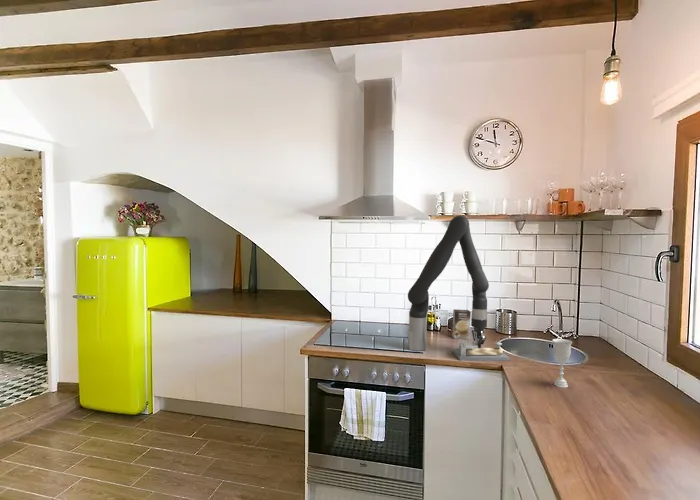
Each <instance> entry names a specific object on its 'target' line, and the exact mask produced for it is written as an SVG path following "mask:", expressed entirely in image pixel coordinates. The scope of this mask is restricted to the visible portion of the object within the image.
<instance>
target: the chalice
mask: <svg viewBox="0 0 700 500" xmlns="http://www.w3.org/2000/svg"><path fill="white" fill-rule="evenodd" d="M552 342H553V356H554V358H555V360H556V363H558V364H559V377H558V378H556V379H555V381H554V384H553V385H554V386H556V387H558V388H568V387H569V385H568V383H567V380H566V379H565V378H564V377H563V376H564V374H565V373H564V372H563V371H564V365H565V364H567V362H568V360H569V359H570V357H571V352H572V351H571V349H572V348H571V347H572V344H573V341H572V340H569V339H563V338H553V339H552Z"/></svg>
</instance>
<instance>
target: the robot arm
mask: <svg viewBox="0 0 700 500" xmlns="http://www.w3.org/2000/svg"><path fill="white" fill-rule="evenodd" d="M458 243H459V244H460V248H461V252H462V253H461V254H462V257H463V261H464V264H465V267H466V270H467V272H468V274H469V275H470V278H471V280H472V283H471V292H472V302H471V303H472V305H471V306H472V307H471V317H470V327H473V329H471V334H472V335H471V336H472V338H473V342H474V343H475V344H476V345H478V348H482V345H484V344H485V341H486V339H487V336H485V330H484V329H486V328H487V327H488V298H487V291H489V287H490V286H489V285H490V284H489V281H488V279H487V276H486V274H485V271H484V270H483V266H482V264H481V261H480V260H481V259H480V257H479V255H478V252H477V250H476V247H475V245H474V242H473V238H472V234H471V228H470V221H469V219H468V218H467V217H466V216H464V215H456V216H454V217H453V218H451V219H450V221H449V224H448V227H447V229H446V231H445V233H444V235H443V236H442V238H441V240H440V241H439V243H438V244H437V245H436V247H435V248H434V249H433V251H432V253H431V254H430V256H429V257H428V259H427V261H426V263H425V265H424V266H423V268H422V270H421V272H420V275H419V276H418V278H417V279H416V281H415V282H414V283H413V285H412V286H411V287H410V288H409V290H408V292H407V299H408V302H409V303H411V307H410V309H409V311H408V312H409V313H408V315H409V316H408V318H409V319H408V331H407V347H408V349H409V350H410V351H414V352H415V351H416V352H423V351H426V350H427V341H428V340H427V327H428V325H427V324H428V312H429V299H430V296H429V291H428V290H429V289H430V287H431V286H432V284H433V283H434V281H436V280H437V279H438V277H439V276H440V275H441V274H442V273H443V271H444V270H445V268H446V266H447V265H448V264H449V261H450V259H451V257H452V256H453V253H454V251H455V248H456V246H457V244H458Z"/></svg>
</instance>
